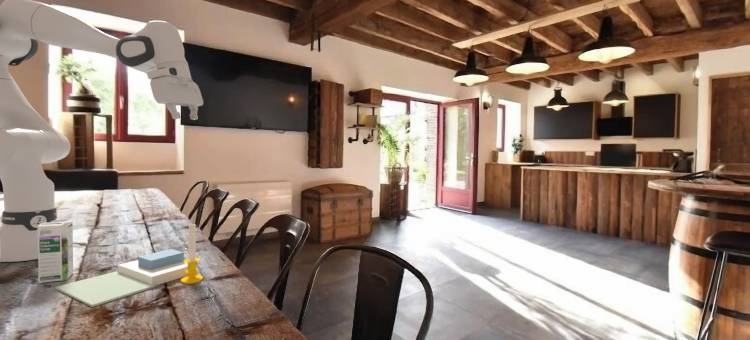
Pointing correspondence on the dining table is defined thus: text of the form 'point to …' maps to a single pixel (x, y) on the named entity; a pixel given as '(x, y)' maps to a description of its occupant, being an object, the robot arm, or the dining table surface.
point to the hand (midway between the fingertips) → (186, 119)
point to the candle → (192, 259)
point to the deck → (154, 272)
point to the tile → (160, 259)
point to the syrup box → (55, 251)
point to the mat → (104, 288)
